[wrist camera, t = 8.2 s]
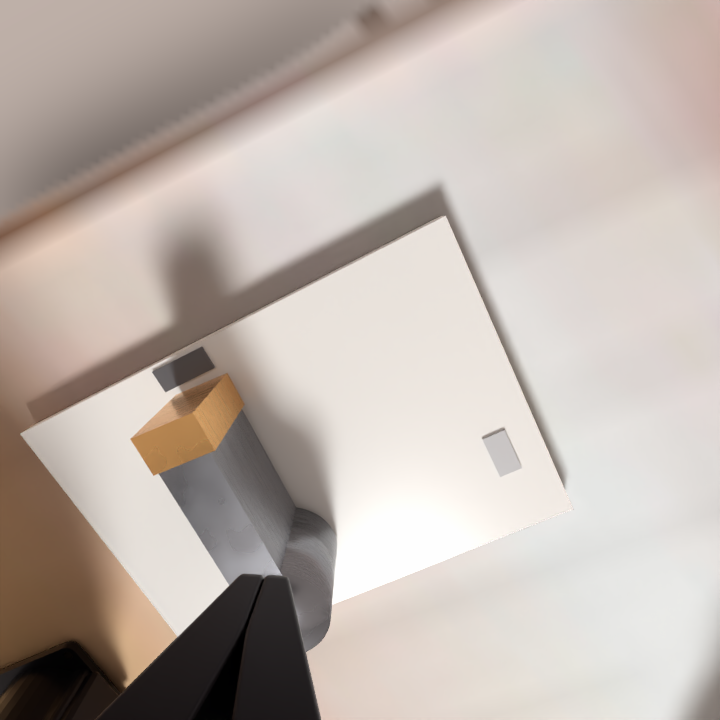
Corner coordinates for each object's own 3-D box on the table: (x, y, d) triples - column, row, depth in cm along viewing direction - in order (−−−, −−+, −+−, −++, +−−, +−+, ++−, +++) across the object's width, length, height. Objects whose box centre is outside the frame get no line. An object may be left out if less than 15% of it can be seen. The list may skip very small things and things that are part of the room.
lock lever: (351, 564, 22) (347, 638, 18) (274, 591, 23) (254, 669, 19) (245, 365, 19) (214, 403, 16) (159, 401, 20) (109, 447, 16)
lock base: (201, 642, 25) (194, 660, 24) (35, 424, 22) (18, 434, 21) (564, 496, 22) (574, 510, 21) (441, 215, 19) (446, 215, 18)
